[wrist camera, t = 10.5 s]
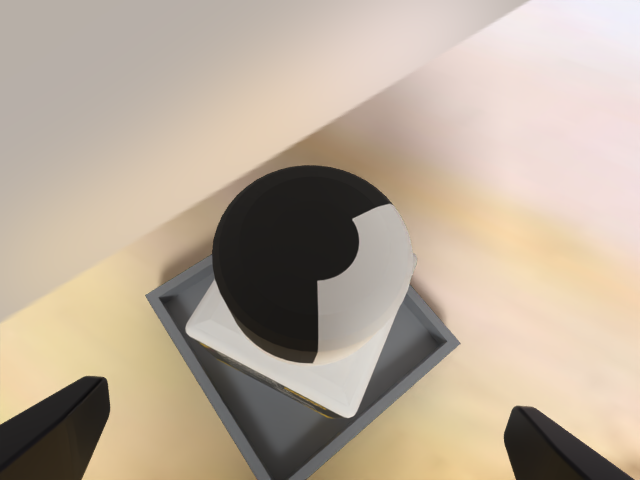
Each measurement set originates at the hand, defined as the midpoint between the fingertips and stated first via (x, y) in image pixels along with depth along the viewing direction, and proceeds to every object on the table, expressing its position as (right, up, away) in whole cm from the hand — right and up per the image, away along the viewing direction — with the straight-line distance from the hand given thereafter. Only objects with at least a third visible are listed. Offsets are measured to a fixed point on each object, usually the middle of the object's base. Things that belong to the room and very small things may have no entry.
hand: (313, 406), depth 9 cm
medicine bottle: (-1, -1, +14) cm, 14 cm away
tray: (-1, -1, +14) cm, 14 cm away
